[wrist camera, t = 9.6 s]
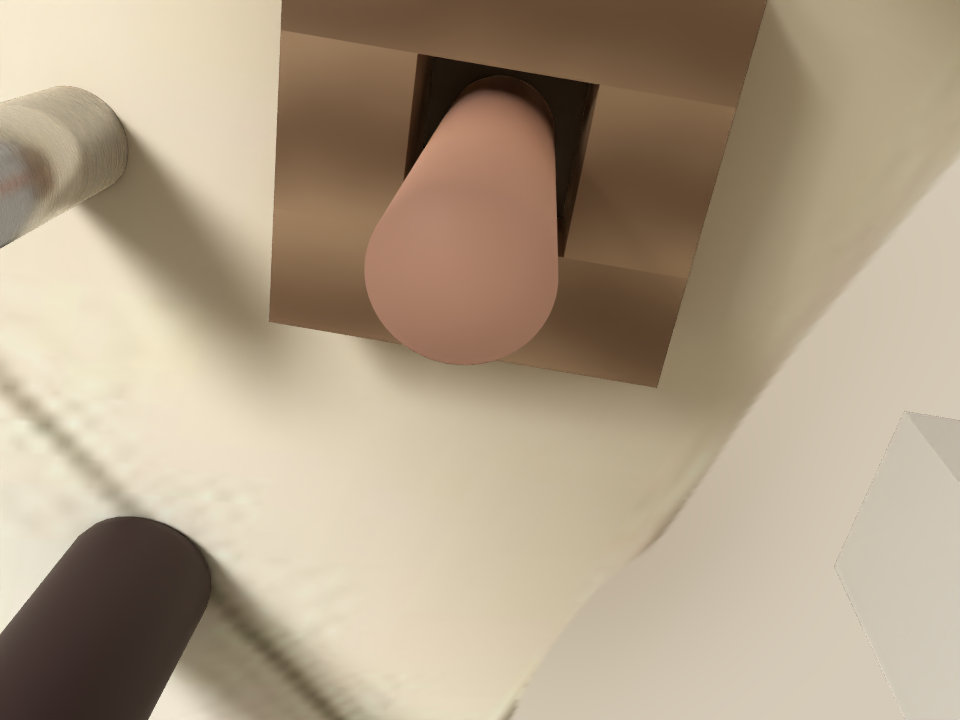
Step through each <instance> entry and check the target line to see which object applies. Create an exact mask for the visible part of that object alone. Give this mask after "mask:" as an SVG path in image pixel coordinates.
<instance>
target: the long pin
mask: <svg viewBox="0 0 960 720" xmlns="http://www.w3.org/2000/svg"><path fill="white" fill-rule="evenodd" d="M364 275H365V284H366V289H367V293H368V297H369V299H370V302H371V304H372V307H373V309H374V311H375V313H376V314H377V316H378V318H379V319H380V321H381V322H382V324H383V325H384V326H385V328H386V329H387V330H388V331H389V332H390V333H391V334H392V335H393V336H394V337H395V338H396V339H397V340H398V341H400V342H401V343H402V344H403V345H405V346H406V347H408V348H409V349H411V350H412V351H414V352H416V353H418V354H420V355H422V356H424V357H427V358H430V359H432V360H435V361H439V362H443V363H448V364H457V365H474V364H482V363H487V362H491V361H495V360H497V359H500V358H503V357H505V356H507V355H509V354H511V353H513V352H515V351H517V350H518V349H520V348H521V347H522V346H524V345H525V344H527V343H528V342H529V341H530V340H531V339H532V338H533V337H534V336H535V335H536V334H537V333H538V331H539V330H540V329H541V328H542V327H543V325H544V323H545V322H546V320H547V318H548V317H549V315H550V312H551V310H552V308H553V305H554V302H555V298H556V295H557V288H558V243H557V207H556V171H555V135H554V122H553V117H552V113H551V111H550V108H549V106H548V104H547V103H546V101H545V99H544V98H543V97H542V95H541V94H540V93H539V92H538V91H537V90H536V89H535V88H533V87H532V86H531V85H529V84H528V83H526V82H524V81H522V80H520V79H517V78H514V77H510V76H490V77H485V78H482V79H479V80H477V81H475V82H473V83H472V84H470V85H469V86H467V87H466V88H465V89H464V90H463V91H461V93H460V94H459V95H458V96H457V97H456V99H455V100H454V102H453V103H452V105H451V107H450V108H449V110H448V111H447V113H446V115H445V116H444V118H443V119H442V121H441V123H440V124H439V126H438V128H437V129H436V131H435V132H434V134H433V136H432V137H431V139H430V140H429V142H428V144H427V145H426V147H425V148H424V150H423V152H422V153H421V155H420V156H419V158H418V160H417V161H416V163H415V164H414V166H413V168H412V169H411V171H410V173H409V174H408V176H407V177H406V179H405V181H404V182H403V184H402V185H401V187H400V189H399V190H398V192H397V193H396V195H395V197H394V198H393V200H392V201H391V203H390V205H389V206H388V208H387V209H386V211H385V213H384V214H383V216H382V218H381V219H380V221H379V222H378V224H377V226H376V227H375V229H374V231H373V233H372V235H371V238H370V240H369V244H368V247H367V250H366V256H365V266H364Z"/></svg>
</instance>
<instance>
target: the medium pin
mask: <svg viewBox="0 0 960 720" xmlns="http://www.w3.org/2000/svg"><path fill="white" fill-rule="evenodd" d="M127 159H128V143H127V138H126V134H125V131H124V129H123V126H122V125H121V123H120V121H119V119H118V118H117V116H116V115H115V113H114V112H113V111H112V110H111V108H110V107H109V106H108V105H107V104H106V103H104V102H103V101H102V100H101V99H99V98H98V97H97V96H95V95H93V94H92V93H90V92H87V91H85V90H83V89H80V88H76V87H71V86H58V87H53V88H49V89H46V90H42V91H39V92H36V93H32V94H29V95H25V96H22V97H19V98H15V99H12V100H8V101H5V102H2V103H0V248H2V247H4V246H5V245H7V244H9V243H11V242H12V241H14V240H16V239H18V238H19V237H21V236H23V235H25V234H27V233H28V232H30V231H32V230H34V229H35V228H37V227H39V226H41V225H42V224H44V223H46V222H48V221H49V220H51V219H53V218H55V217H56V216H58V215H60V214H62V213H63V212H65V211H67V210H69V209H70V208H72V207H74V206H76V205H78V204H79V203H81V202H83V201H85V200H86V199H88V198H90V197H92V196H93V195H95V194H97V193H99V192H100V191H102V190H104V189H106V188H107V187H109V186H111V185H112V184H114V183H115V182H116V181H117V180H118V179H119V178H120V176H121V175H122V173H123V171H124V169H125V167H126V163H127Z"/></svg>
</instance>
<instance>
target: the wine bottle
mask: <svg viewBox="0 0 960 720" xmlns="http://www.w3.org/2000/svg"><path fill="white" fill-rule="evenodd" d="M210 591H211V576H210V572H209V569H208V566H207V564H206V562H205V560H204V558H203V556H202V555H201V553H200V552H199V551H198V550H197V548H196V547H195V546H194V545H193V544H192V543H191V542H190V541H189V540H188V539H187V538H185V537H184V536H183V535H181V534H180V533H178V532H177V531H175V530H174V529H172V528H170V527H168V526H166V525H164V524H161V523H159V522H156V521H152V520H149V519H146V518H139V517H115V518H110V519H106V520H104V521H101V522H99V523H96V524H95V525H93V526H92V527H91V528H89V529H88V530H86V531H85V532H84V533H82V534H81V535H80V536H79V537H78V538H77V539H76V540H75V542H74V543H73V544H72V545H71V546H70V548H69V549H68V550H67V551H66V553H65V554H64V555H63V556H62V558H61V559H60V560H59V562H58V563H57V564H56V565H55V567H54V568H53V569H52V570H51V572H50V573H49V574H48V575H47V577H46V578H45V579H44V580H43V582H42V583H41V584H40V585H39V587H38V588H37V589H36V590H35V592H34V593H33V594H32V595H31V597H30V598H29V599H28V600H27V602H26V603H25V604H24V605H23V607H22V608H21V609H20V610H19V612H18V613H17V614H16V615H15V617H14V618H13V619H12V620H11V622H10V623H9V624H8V625H7V627H6V628H5V629H4V630H3V632H2V633H1V634H0V720H148V719H149V717H150V715H151V713H152V711H153V709H154V707H155V705H156V703H157V702H158V700H159V698H160V696H161V694H162V692H163V690H164V688H165V686H166V684H167V682H168V680H169V678H170V676H171V675H172V673H173V671H174V669H175V667H176V665H177V663H178V661H179V659H180V657H181V655H182V653H183V651H184V649H185V648H186V646H187V644H188V642H189V640H190V638H191V636H192V634H193V632H194V630H195V628H196V626H197V624H198V623H199V621H200V619H201V617H202V615H203V613H204V611H205V609H206V607H207V604H208V600H209V596H210Z"/></svg>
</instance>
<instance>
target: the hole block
mask: <svg viewBox="0 0 960 720" xmlns="http://www.w3.org/2000/svg"><path fill="white" fill-rule="evenodd" d="M766 3H767V0H282V13H281V38H280V63H279V88H278V113H277V138H276V163H275V189H274V214H273V239H272V264H271V289H270V314H269V322H274V323H280V324H286V325H292V326H297V327H303V328H309V329H315V330H321V331H327V332H333V333H339V334H344V335H350V336H356V337H362V338H368V339H374V340H380V341H385V342H391V343H397V344H402V343H401V342H400V341H398V340H397V339H396V338H395V337H394V336H393V335H392V334H391V333H390V332H389V331H388V330H387V329H386V328H385V326H384V325H383V324H382V322H381V321H380V319H379V318H378V316H377V314H376V313H375V311H374V309H373V307H372V304H371V302H370V299H369V297H368V293H367V289H366V284H365V275H364V266H365V256H366V250H367V247H368V244H369V240H370V238H371V235H372V233H373V231H374V229H375V227H376V226H377V224H378V222H379V221H380V219H381V218H382V216H383V214H384V213H385V211H386V209H387V208H388V206H389V205H390V203H391V201H392V200H393V198H394V197H395V195H396V193H397V192H398V190H399V189H400V187H401V185H402V184H403V182H404V181H405V179H406V177H407V176H408V174H409V173H410V171H411V169H412V168H413V166H414V164H415V163H416V161H417V160H418V158H419V156H420V155H421V153H422V149H423V141H424V133H425V124H426V116H427V108H428V99H429V91H430V83H431V74H432V66H433V58H434V56H435V57H441V58H447V59H453V60H459V61H464V62H470V63H476V64H482V65H488V66H494V67H500V68H505V69H511V70H517V71H523V72H529V73H535V74H541V75H546V76H552V77H558V78H564V79H570V80H576V81H582V82H587V83H589V87H588V92H587V97H586V102H585V107H584V112H583V117H582V122H581V127H580V131H579V136H578V141H577V146H576V151H575V156H574V161H573V166H572V171H571V176H570V181H569V185H568V190H567V195H566V200H565V205H564V210H563V215H562V218H558V217H557V243H558V288H557V295H556V298H555V302H554V305H553V308H552V310H551V312H550V315H549V317H548V318H547V320H546V322H545V323H544V325H543V327H542V328H541V329H540V330H539V331H538V333H537V334H536V335H535V336H534V337H533V338H532V339H531V340H530V341H529V342H528V343H527V344H525V345H524V346H522V347H521V348H520V349H518V350H517V351H515V352H513V353H511V354H509V355H507V356H505V357H503V358H500V359H497V361H503V362H509V363H515V364H521V365H526V366H532V367H538V368H544V369H550V370H556V371H562V372H568V373H573V374H579V375H585V376H591V377H597V378H603V379H609V380H614V381H620V382H626V383H632V384H638V385H644V386H650V387H656V388H657V385H658V382H659V378H660V375H661V371H662V368H663V364H664V361H665V357H666V354H667V350H668V347H669V343H670V340H671V336H672V333H673V329H674V326H675V322H676V319H677V315H678V312H679V308H680V305H681V301H682V297H683V294H684V290H685V287H686V283H687V280H688V276H689V273H690V269H691V266H692V262H693V259H694V255H695V252H696V248H697V245H698V241H699V238H700V234H701V231H702V227H703V224H704V220H705V217H706V213H707V210H708V206H709V203H710V199H711V196H712V192H713V189H714V185H715V182H716V178H717V175H718V171H719V168H720V164H721V161H722V157H723V154H724V150H725V147H726V143H727V140H728V136H729V133H730V129H731V126H732V122H733V119H734V115H735V112H736V108H737V105H738V101H739V98H740V94H741V91H742V87H743V84H744V80H745V77H746V73H747V70H748V66H749V63H750V59H751V56H752V52H753V48H754V45H755V41H756V38H757V34H758V31H759V27H760V24H761V20H762V17H763V13H764V10H765V6H766Z"/></svg>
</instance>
